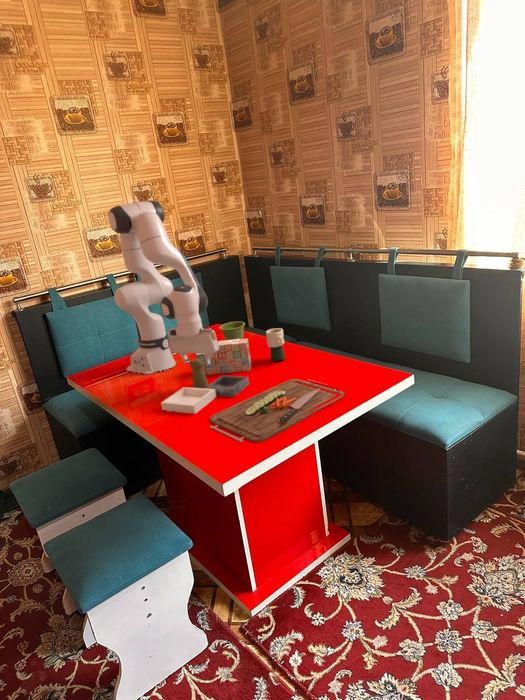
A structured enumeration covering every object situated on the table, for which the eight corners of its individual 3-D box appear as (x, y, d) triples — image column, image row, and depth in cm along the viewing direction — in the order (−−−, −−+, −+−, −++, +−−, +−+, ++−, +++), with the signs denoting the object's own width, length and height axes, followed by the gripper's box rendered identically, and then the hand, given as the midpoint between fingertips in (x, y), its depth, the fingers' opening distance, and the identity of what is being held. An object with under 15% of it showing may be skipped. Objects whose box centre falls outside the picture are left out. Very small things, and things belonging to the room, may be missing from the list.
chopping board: (298, 378, 192) (297, 371, 191) (353, 394, 172) (353, 386, 171) (200, 424, 166) (199, 416, 165) (252, 449, 146) (251, 439, 145)
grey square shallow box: (207, 394, 188) (205, 387, 187) (222, 382, 198) (221, 375, 197) (234, 396, 183) (232, 389, 182) (249, 384, 192) (247, 376, 191)
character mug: (291, 360, 211) (288, 331, 207) (276, 365, 208) (273, 335, 204) (279, 354, 220) (275, 326, 216) (264, 359, 217) (260, 330, 213)
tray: (162, 410, 180) (160, 402, 179) (185, 394, 191) (183, 387, 190) (195, 413, 173) (193, 405, 172) (216, 396, 185) (215, 389, 184)
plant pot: (221, 347, 242) (217, 324, 239) (245, 342, 244) (242, 320, 241) (225, 354, 231) (221, 330, 228) (250, 349, 233) (247, 325, 230)
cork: (211, 383, 199) (206, 357, 195) (204, 389, 193) (199, 362, 190) (197, 383, 201) (192, 357, 197) (190, 389, 195) (185, 362, 192)
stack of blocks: (199, 375, 209) (194, 347, 205) (202, 370, 215) (197, 342, 211) (250, 370, 206) (246, 342, 203) (252, 365, 212) (247, 337, 209)
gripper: (218, 326, 187) (224, 361, 191) (174, 326, 197) (180, 360, 201) (209, 331, 182) (216, 367, 186) (164, 331, 192) (171, 366, 196)
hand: (197, 363), depth 194 cm, fingers open, 8 cm apart
